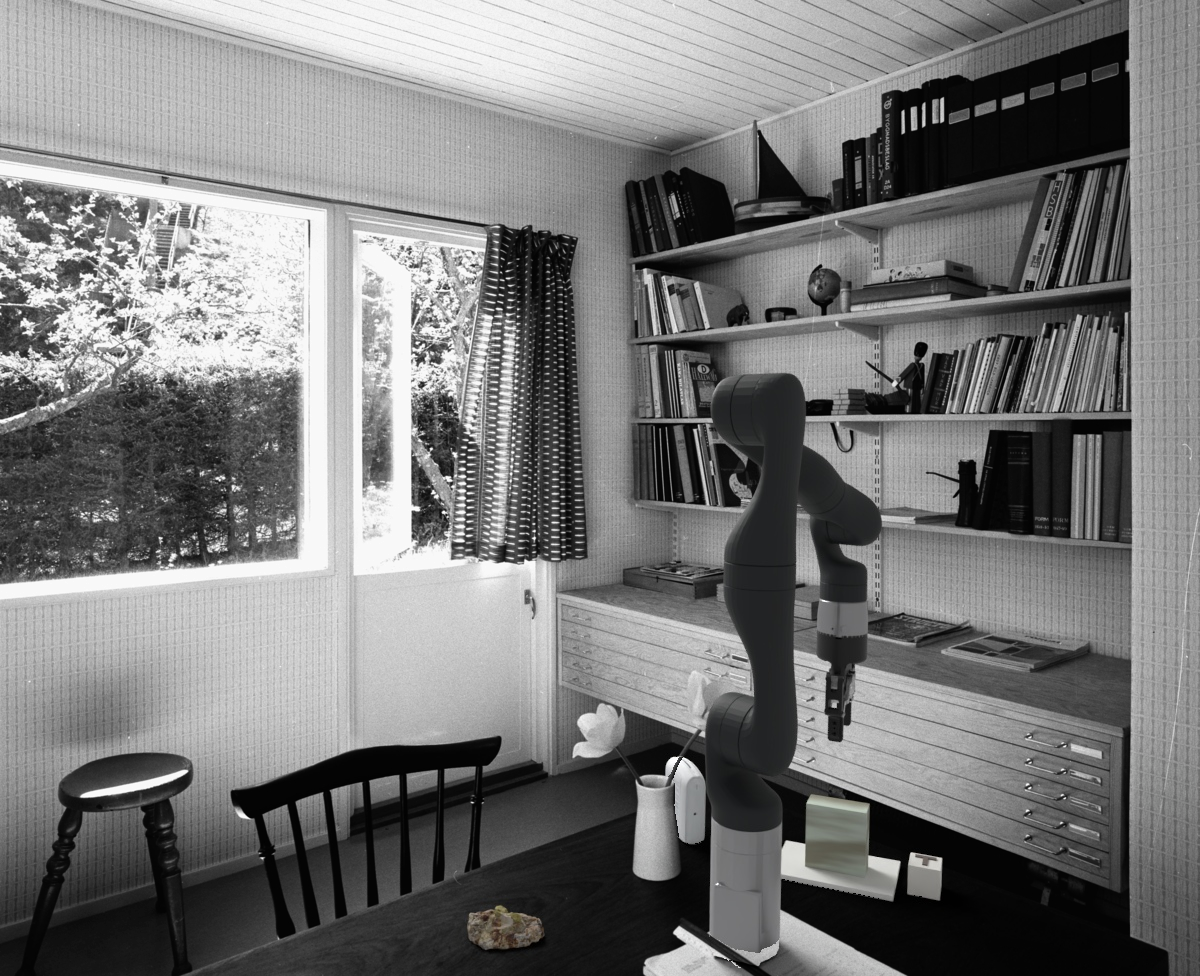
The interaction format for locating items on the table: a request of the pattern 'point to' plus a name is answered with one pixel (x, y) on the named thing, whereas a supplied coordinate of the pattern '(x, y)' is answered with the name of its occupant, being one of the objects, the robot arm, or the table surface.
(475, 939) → the mineral rock
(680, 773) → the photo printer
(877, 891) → the mat
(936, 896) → the letter cube
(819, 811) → the pale green rectangular block
